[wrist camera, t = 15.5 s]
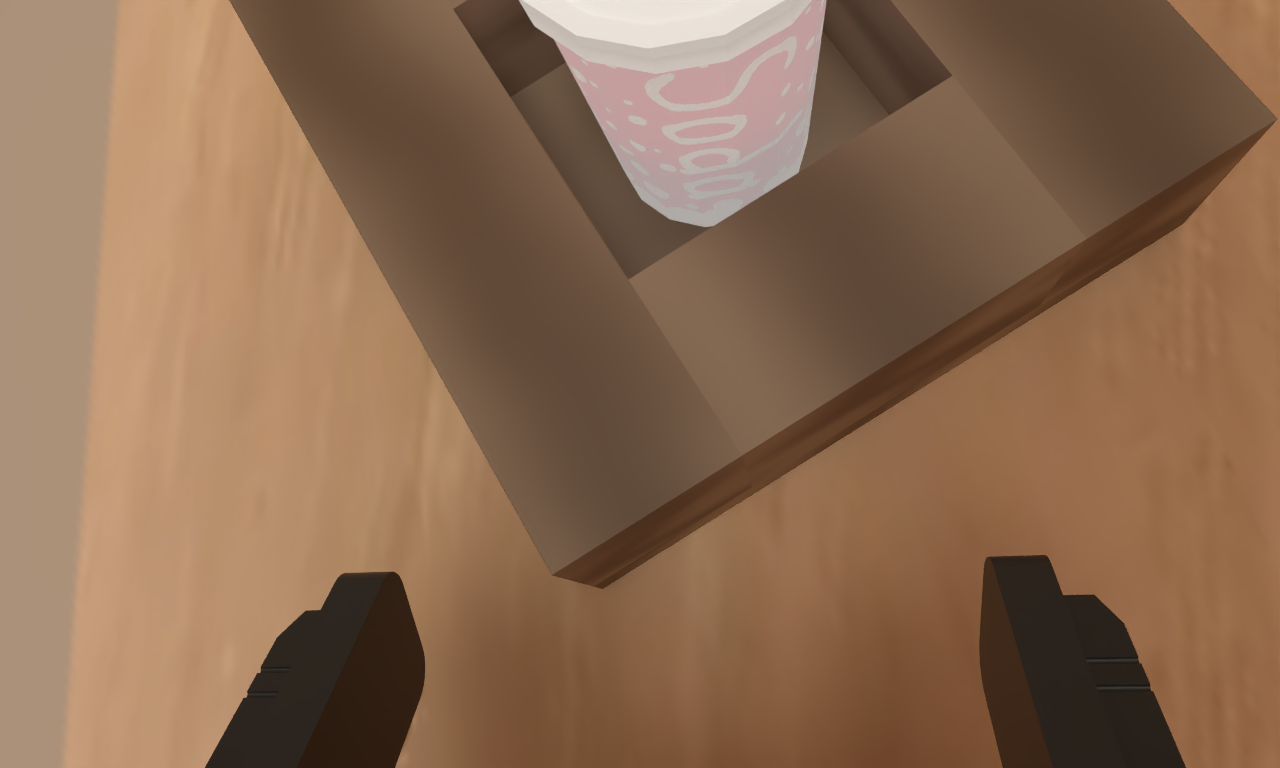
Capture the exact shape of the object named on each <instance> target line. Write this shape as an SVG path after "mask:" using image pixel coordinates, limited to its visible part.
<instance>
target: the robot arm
mask: <svg viewBox="0 0 1280 768" xmlns="http://www.w3.org/2000/svg"><path fill="white" fill-rule="evenodd" d="M979 651H980V667H981V675H982V682H983V688H984V692H985V697H986V701H987V705H988V709H989V713H990V717H991V721H992V725H993V729H994V733H995V737H996V741H997V745H998V749H999V753H1000V758H1001V762H1002V766H1003V768H1186V767H1185V764H1184V762H1183V760H1182V757H1181V755H1180V753H1179V750H1178V748H1177V746H1176V743H1175V741H1174V739H1173V736H1172V734H1171V732H1170V729H1169V727H1168V725H1167V722H1166V720H1165V718H1164V715H1163V713H1162V711H1161V708H1160V706H1159V704H1158V701H1157V699H1156V697H1155V695H1154V692H1153V691H1151V689H1150V683H1149V681H1148V678H1147V676H1146V674H1145V671H1144V669H1143V667H1142V664H1139V661H1138V655H1137V653H1136V650H1135V648H1134V646H1133V643H1132V641H1131V639H1130V636H1129V634H1128V632H1127V629H1126V627H1125V625H1124V623H1123V622H1122V621H1121V620H1120V619H1119V618H1118V617H1117V616H1116V615H1115V614H1114V613H1113V612H1112V611H1111V610H1109V609H1108V608H1107V607H1106V606H1105V605H1104V604H1103V603H1102V602H1101V601H1100V600H1099V599H1098V598H1097V597H1096V596H1095V595H1063V594H1062V592H1061V589H1060V586H1059V584H1058V581H1057V578H1056V575H1055V573H1054V570H1053V567H1052V565H1051V562H1050V560H1049V558H1048V557H1047V556H1045V555H1033V556H998V557H987V558H986V560H985V564H984V575H983V592H982V608H981V625H980V642H979ZM424 679H425V658H424V651H423V647H422V644H421V641H420V638H419V634H418V631H417V628H416V625H415V621H414V618H413V615H412V612H411V608H410V605H409V602H408V599H407V596H406V592H405V589H404V586H403V583H402V580H401V578H400V576H399V575H398V574H397V573H395V572H368V573H344V574H342V575H340V576H339V577H338V578H337V580H336V582H335V583H334V585H333V587H332V589H331V591H330V593H329V595H328V597H327V599H326V601H325V603H324V605H323V606H322V608H321V610H313V611H305V612H304V613H303V614H302V615H301V616H300V617H298V618H297V619H296V620H295V621H294V622H293V623H292V624H291V625H290V626H289V627H288V628H287V629H286V630H285V631H284V632H282V633H281V634H280V635H279V636H278V637H277V639H276V641H275V642H274V644H273V646H272V648H271V650H270V651H269V653H268V655H267V657H266V659H265V660H264V662H263V664H262V666H261V673H257V675H256V677H255V678H254V680H253V682H252V684H251V686H250V687H249V689H248V691H247V693H248V695H247V698H243V700H242V702H241V704H240V705H239V707H238V709H237V711H236V713H235V714H234V716H233V718H232V720H231V722H230V723H229V725H228V727H227V729H226V731H225V732H224V734H223V736H222V738H221V740H220V741H219V743H218V745H217V747H216V749H215V750H214V752H213V754H212V756H211V758H210V759H209V761H208V763H207V765H206V767H205V768H395V766H396V763H397V760H398V758H399V755H400V752H401V749H402V747H403V744H404V741H405V739H406V736H407V733H408V730H409V728H410V725H411V722H412V719H413V717H414V714H415V711H416V708H417V706H418V703H419V700H420V697H421V694H422V691H423V686H424Z"/></svg>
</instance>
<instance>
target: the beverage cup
mask: <svg viewBox="0 0 1280 768" xmlns="http://www.w3.org/2000/svg"><path fill="white" fill-rule="evenodd" d="M519 1H520V3H521V5H522V6H523V8H524V10H525V11H526V13H527V15H528V16H529V18H530V20H531V21H532V23H533V25H534V26H535V27H536V28H538V29H539V30H541V31H542V32H544V33H545V34H547V35H548V36H550V37H551V38H553V39H554V40H555V42H556V44H557V46H558V48H559V50H560V52H561V54H562V55H563V57H564V59H565V61H566V63H567V65H568V67H569V68H570V70H571V72H572V74H573V76H574V78H575V80H576V82H577V83H578V85H579V87H580V89H581V91H582V93H583V95H584V97H585V98H586V100H587V102H588V104H589V106H590V108H591V110H592V112H593V113H594V115H595V117H596V119H597V121H598V123H599V125H600V127H601V128H602V130H603V132H604V134H605V136H606V138H607V140H608V142H609V143H610V145H611V147H612V149H613V151H614V153H615V155H616V156H617V158H618V160H619V162H620V164H621V166H622V168H623V170H624V171H625V173H626V175H627V176H628V178H629V180H630V181H631V183H632V185H633V186H634V188H635V190H636V191H637V193H638V195H639V196H640V198H641V200H643V201H644V202H645V203H647V204H648V205H650V206H651V207H653V208H654V209H656V210H657V211H658V212H660V213H661V214H663V215H664V216H666V217H667V218H668V219H670V220H675V221H679V222H684V223H689V224H693V225H698V226H702V227H710V226H714V225H716V224H718V223H719V222H721V221H722V220H724V219H725V218H727V217H729V216H730V215H732V214H733V213H735V212H737V211H738V210H740V209H741V208H743V207H745V206H746V205H748V204H749V203H751V202H753V201H754V200H756V199H757V198H759V197H760V196H762V195H764V194H765V193H767V192H768V191H770V190H772V189H773V188H775V187H776V186H778V185H780V184H781V183H783V182H784V181H786V180H787V179H789V178H791V177H792V176H794V175H795V174H797V173H798V172H799V169H800V165H801V162H802V158H803V155H804V151H805V148H806V144H807V140H808V132H809V125H810V118H811V111H812V103H813V96H814V89H815V81H816V74H817V67H818V59H819V52H820V45H821V37H822V30H823V23H824V15H825V8H826V1H827V0H519Z"/></svg>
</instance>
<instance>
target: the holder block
mask: <svg viewBox="0 0 1280 768" xmlns="http://www.w3.org/2000/svg"><path fill="white" fill-rule="evenodd" d="M229 1H230V2H231V4H232V6H233V8H234V9H235V11H236V13H237V15H238V17H239V18H240V20H241V22H242V24H243V25H244V27H245V29H246V31H247V33H248V34H249V36H250V38H251V40H252V42H253V43H254V45H255V47H256V49H257V50H258V52H259V54H260V56H261V58H262V59H263V61H264V63H265V65H266V66H267V68H268V70H269V72H270V74H271V75H272V77H273V79H274V81H275V83H276V84H277V86H278V88H279V90H280V91H281V93H282V95H283V97H284V99H285V100H286V102H287V104H288V106H289V107H290V109H291V111H292V113H293V115H294V116H295V118H296V120H297V122H298V124H299V125H300V127H301V129H302V131H303V132H304V134H305V136H306V138H307V140H308V141H309V143H310V145H311V147H312V148H313V150H314V152H315V154H316V156H317V157H318V159H319V161H320V163H321V165H322V166H323V168H324V170H325V172H326V173H327V175H328V177H329V179H330V181H331V182H332V184H333V186H334V188H335V189H336V191H337V193H338V195H339V197H340V198H341V200H342V202H343V204H344V206H345V207H346V209H347V211H348V213H349V214H350V216H351V218H352V220H353V222H354V223H355V225H356V227H357V229H358V230H359V232H360V234H361V236H362V238H363V239H364V241H365V243H366V245H367V247H368V248H369V250H370V252H371V254H372V255H373V257H374V259H375V261H376V263H377V264H378V266H379V268H380V270H381V271H382V273H383V275H384V277H385V279H386V280H387V282H388V284H389V286H390V288H391V289H392V291H393V293H394V295H395V296H396V298H397V300H398V302H399V304H400V305H401V307H402V309H403V311H404V312H405V314H406V316H407V318H408V320H409V321H410V323H411V325H412V327H413V329H414V330H415V332H416V334H417V336H418V337H419V339H420V341H421V343H422V345H423V346H424V348H425V350H426V352H427V353H428V355H429V357H430V359H431V361H432V362H433V364H434V366H435V368H436V370H437V371H438V373H439V375H440V377H441V378H442V380H443V382H444V384H445V386H446V387H447V389H448V391H449V393H450V394H451V396H452V398H453V400H454V402H455V403H456V405H457V407H458V409H459V411H460V412H461V414H462V416H463V418H464V419H465V421H466V423H467V425H468V427H469V428H470V430H471V432H472V434H473V435H474V437H475V439H476V441H477V443H478V444H479V446H480V448H481V450H482V452H483V453H484V455H485V457H486V459H487V460H488V462H489V464H490V466H491V468H492V469H493V471H494V473H495V475H496V476H497V478H498V480H499V482H500V484H501V485H502V487H503V489H504V491H505V493H506V494H507V496H508V498H509V500H510V501H511V503H512V505H513V507H514V509H515V510H516V512H517V514H518V516H519V517H520V519H521V521H522V523H523V525H524V526H525V528H526V530H527V532H528V534H529V535H530V537H531V539H532V541H533V542H534V544H535V546H536V548H537V550H538V551H539V553H540V555H541V557H542V558H543V560H544V562H545V564H546V566H547V567H548V569H549V571H550V573H551V575H553V576H557V577H561V578H564V579H568V580H572V581H576V582H579V583H583V584H587V585H591V586H594V587H598V588H602V589H603V588H604V587H606V586H607V585H609V584H611V583H612V582H614V581H615V580H617V579H618V578H620V577H622V576H623V575H625V574H626V573H628V572H630V571H631V570H633V569H634V568H636V567H638V566H639V565H641V564H642V563H644V562H646V561H647V560H649V559H650V558H652V557H653V556H655V555H657V554H658V553H660V552H661V551H663V550H665V549H666V548H668V547H669V546H671V545H673V544H674V543H676V542H677V541H679V540H681V539H682V538H684V537H685V536H687V535H689V534H690V533H692V532H693V531H695V530H696V529H698V528H700V527H701V526H703V525H704V524H706V523H708V522H709V521H711V520H712V519H714V518H716V517H717V516H719V515H720V514H722V513H724V512H725V511H727V510H728V509H730V508H731V507H733V506H735V505H736V504H738V503H739V502H741V501H743V500H744V499H746V498H747V497H749V496H751V495H752V494H754V493H755V492H757V491H759V490H760V489H762V488H763V487H765V486H766V485H768V484H770V483H771V482H773V481H774V480H776V479H778V478H779V477H781V476H782V475H784V474H786V473H787V472H789V471H790V470H792V469H794V468H795V467H797V466H798V465H800V464H801V463H803V462H805V461H806V460H808V459H809V458H811V457H813V456H814V455H816V454H817V453H819V452H821V451H822V450H824V449H825V448H827V447H829V446H830V445H832V444H833V443H835V442H836V441H838V440H840V439H841V438H843V437H844V436H846V435H848V434H849V433H851V432H852V431H854V430H856V429H857V428H859V427H860V426H862V425H864V424H865V423H867V422H868V421H870V420H871V419H873V418H875V417H876V416H878V415H879V414H881V413H883V412H884V411H886V410H887V409H889V408H891V407H892V406H894V405H895V404H897V403H899V402H900V401H902V400H903V399H905V398H906V397H908V396H910V395H911V394H913V393H914V392H916V391H918V390H919V389H921V388H922V387H924V386H926V385H927V384H929V383H930V382H932V381H934V380H935V379H937V378H938V377H940V376H941V375H943V374H945V373H946V372H948V371H949V370H951V369H953V368H954V367H956V366H957V365H959V364H961V363H962V362H964V361H965V360H967V359H969V358H970V357H972V356H973V355H975V354H976V353H978V352H980V351H981V350H983V349H984V348H986V347H988V346H989V345H991V344H992V343H994V342H996V341H997V340H999V339H1000V338H1002V337H1004V336H1005V335H1007V334H1008V333H1010V332H1012V331H1013V330H1015V329H1016V328H1018V327H1019V326H1021V325H1023V324H1024V323H1026V322H1027V321H1029V320H1031V319H1032V318H1034V317H1035V316H1037V315H1039V314H1040V313H1042V312H1043V311H1045V310H1047V309H1048V308H1050V307H1051V306H1053V305H1054V304H1056V303H1058V302H1059V301H1061V300H1062V299H1064V298H1066V297H1067V296H1069V295H1070V294H1072V293H1074V292H1075V291H1077V290H1078V289H1080V288H1082V287H1083V286H1085V285H1086V284H1088V283H1089V282H1091V281H1093V280H1094V279H1096V278H1097V277H1099V276H1101V275H1102V274H1104V273H1105V272H1107V271H1109V270H1110V269H1112V268H1113V267H1115V266H1117V265H1118V264H1120V263H1121V262H1123V261H1124V260H1126V259H1128V258H1129V257H1131V256H1132V255H1134V254H1136V253H1137V252H1139V251H1140V250H1142V249H1144V248H1145V247H1147V246H1148V245H1150V244H1152V243H1153V242H1155V241H1156V240H1158V239H1159V238H1161V237H1163V236H1164V235H1166V234H1167V233H1169V232H1171V231H1172V230H1174V229H1175V228H1177V227H1179V226H1180V225H1182V224H1183V223H1184V222H1185V221H1186V220H1187V219H1188V218H1189V216H1190V215H1191V214H1192V213H1193V212H1194V211H1195V210H1196V209H1197V208H1198V206H1199V205H1200V204H1201V203H1202V202H1203V201H1204V200H1205V199H1206V198H1207V196H1208V195H1209V194H1210V193H1211V192H1212V191H1213V190H1214V189H1215V188H1216V187H1217V185H1218V184H1219V183H1220V182H1221V181H1222V180H1223V179H1224V178H1225V177H1226V175H1227V174H1228V173H1229V172H1230V171H1231V170H1232V169H1233V168H1234V167H1235V166H1236V164H1237V163H1238V162H1239V161H1240V160H1241V159H1242V158H1243V157H1244V156H1245V154H1246V153H1247V152H1248V151H1249V150H1250V149H1251V148H1252V147H1253V146H1254V144H1255V143H1256V142H1257V141H1258V140H1259V139H1260V138H1261V137H1262V136H1263V135H1264V133H1265V132H1266V131H1267V130H1268V129H1269V128H1270V127H1271V126H1272V125H1273V123H1274V122H1275V121H1276V120H1277V118H1276V117H1275V116H1274V115H1273V114H1272V113H1271V112H1270V110H1269V109H1268V108H1267V107H1266V106H1265V105H1264V104H1263V103H1262V102H1261V101H1260V100H1259V99H1258V98H1257V96H1256V95H1255V94H1254V93H1253V92H1252V91H1251V90H1250V89H1249V88H1248V87H1247V86H1246V85H1245V84H1244V83H1243V81H1242V80H1241V79H1240V78H1239V77H1238V76H1237V75H1236V74H1235V73H1234V72H1233V71H1232V70H1231V69H1230V68H1229V66H1228V65H1227V64H1226V63H1225V62H1224V61H1223V60H1222V59H1221V58H1220V57H1219V56H1218V55H1217V54H1216V53H1215V51H1214V50H1213V49H1212V48H1211V47H1210V46H1209V45H1208V44H1207V43H1206V42H1205V41H1204V40H1203V39H1202V38H1201V36H1200V35H1199V34H1198V33H1197V32H1196V31H1195V30H1194V29H1193V28H1192V27H1191V26H1190V25H1189V24H1188V23H1187V21H1186V20H1185V19H1184V18H1183V17H1182V16H1181V15H1180V14H1179V13H1178V12H1177V11H1176V10H1175V9H1174V8H1173V6H1172V5H1171V4H1170V3H1169V2H1168V1H1167V0H827V1H826V8H825V15H824V23H823V30H822V37H821V45H820V52H819V59H818V67H817V74H816V81H815V89H814V96H813V103H812V111H811V118H810V125H809V132H808V140H807V144H806V148H805V151H804V155H803V158H802V162H801V165H800V169H799V172H798V173H797V174H795V175H794V176H792V177H791V178H789V179H787V180H786V181H784V182H783V183H781V184H780V185H778V186H776V187H775V188H773V189H772V190H770V191H768V192H767V193H765V194H764V195H762V196H760V197H759V198H757V199H756V200H754V201H753V202H751V203H749V204H748V205H746V206H745V207H743V208H741V209H740V210H738V211H737V212H735V213H733V214H732V215H730V216H729V217H727V218H725V219H724V220H722V221H721V222H719V223H718V224H716V225H714V226H710V227H702V226H698V225H693V224H689V223H684V222H679V221H675V220H670V219H668V218H667V217H666V216H664V215H663V214H661V213H660V212H658V211H657V210H656V209H654V208H653V207H651V206H650V205H648V204H647V203H645V202H644V201H643V200H641V198H640V196H639V195H638V193H637V191H636V190H635V188H634V186H633V185H632V183H631V181H630V180H629V178H628V176H627V175H626V173H625V171H624V170H623V168H622V166H621V164H620V162H619V160H618V158H617V156H616V155H615V153H614V151H613V149H612V147H611V145H610V143H609V142H608V140H607V138H606V136H605V134H604V132H603V130H602V128H601V127H600V125H599V123H598V121H597V119H596V117H595V115H594V113H593V112H592V110H591V108H590V106H589V104H588V102H587V100H586V98H585V97H584V95H583V93H582V91H581V89H580V87H579V85H578V83H577V82H576V80H575V78H574V76H573V74H572V72H571V70H570V68H569V67H568V65H567V63H566V61H565V59H564V57H563V55H562V54H561V52H560V50H559V48H558V46H557V44H556V42H555V40H554V39H553V38H551V37H550V36H548V35H547V34H545V33H544V32H542V31H541V30H539V29H538V28H536V27H535V26H534V25H533V23H532V21H531V20H530V18H529V16H528V15H527V13H526V11H525V10H524V8H523V6H522V5H521V3H520V1H519V0H229Z"/></svg>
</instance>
